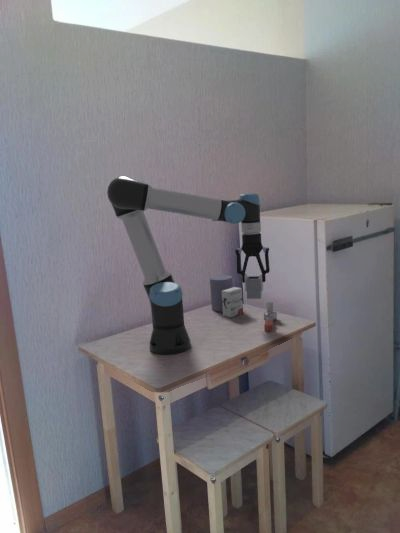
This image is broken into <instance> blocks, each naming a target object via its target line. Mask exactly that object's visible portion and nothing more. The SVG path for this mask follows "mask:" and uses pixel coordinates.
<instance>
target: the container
mask: <svg viewBox="0 0 400 533" xmlns="http://www.w3.org/2000/svg"><path fill="white" fill-rule="evenodd" d="M209 285H210V286H209V287H210V288H209V289H210V301H211V310H212V311H215V312H220V311H221V312H223V305H222V291H223V290H226V289H230V288H233V287H234V285H233V276H232V275H225V274H223V275H222V274H221V275H214V276H211V277H210V278H209Z"/></svg>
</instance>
